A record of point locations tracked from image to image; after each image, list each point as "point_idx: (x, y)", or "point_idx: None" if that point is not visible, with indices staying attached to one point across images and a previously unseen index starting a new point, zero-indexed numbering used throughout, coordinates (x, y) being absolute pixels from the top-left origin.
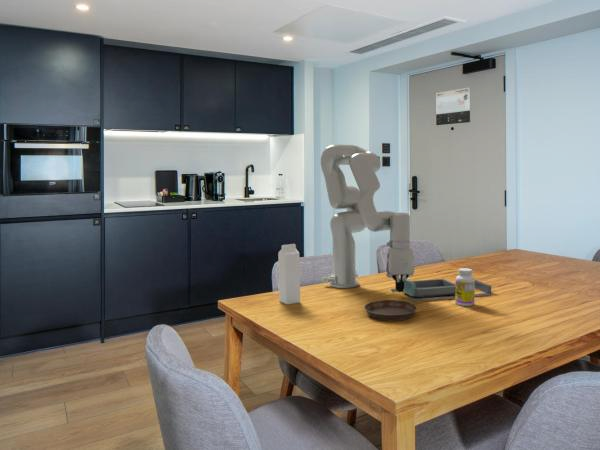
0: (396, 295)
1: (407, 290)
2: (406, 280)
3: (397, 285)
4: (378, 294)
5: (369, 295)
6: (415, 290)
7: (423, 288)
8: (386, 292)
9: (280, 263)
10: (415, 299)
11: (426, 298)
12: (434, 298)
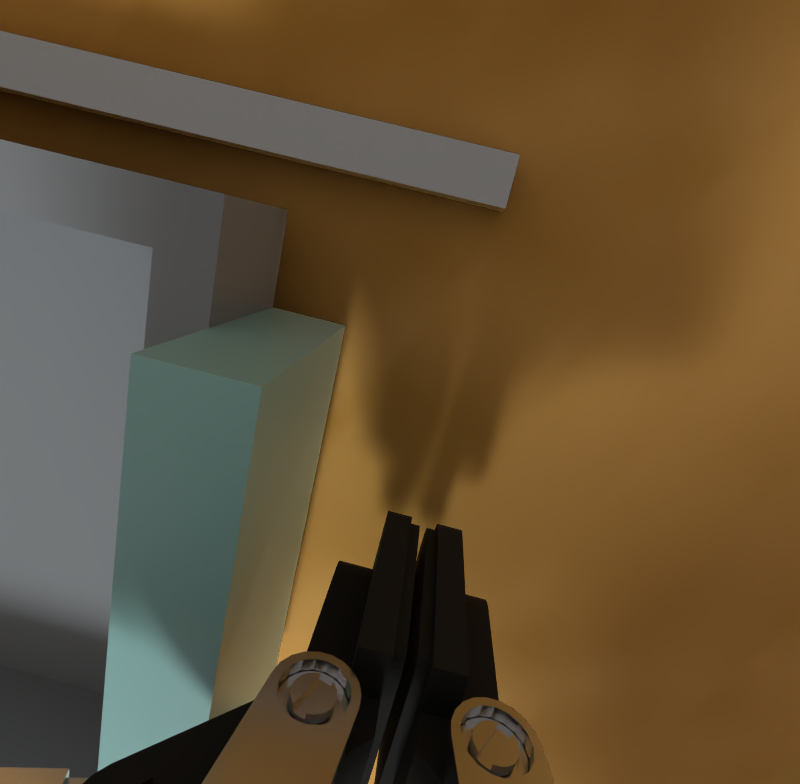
0: None
1: (297, 504)
2: (187, 716)
3: (482, 654)
4: (607, 741)
5: (752, 765)
6: (230, 315)
7: (40, 205)
8: None
9: None
10: (398, 126)
11: (174, 76)
12: (26, 37)
